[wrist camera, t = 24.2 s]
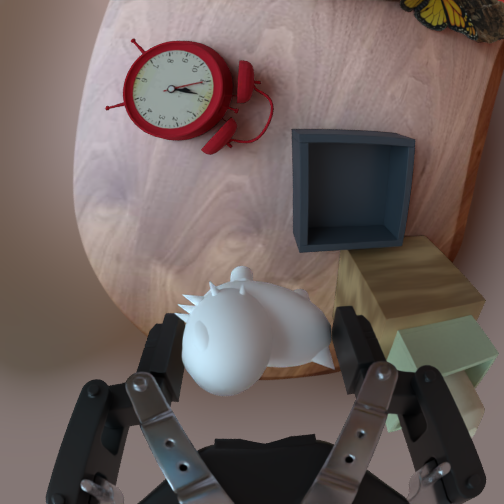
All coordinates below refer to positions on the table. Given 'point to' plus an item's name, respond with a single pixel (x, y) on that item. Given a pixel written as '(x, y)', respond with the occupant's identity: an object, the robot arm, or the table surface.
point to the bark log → (486, 18)
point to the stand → (404, 288)
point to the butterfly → (441, 15)
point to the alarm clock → (186, 93)
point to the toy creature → (250, 333)
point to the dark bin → (350, 188)
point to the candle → (466, 400)
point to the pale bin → (443, 351)
